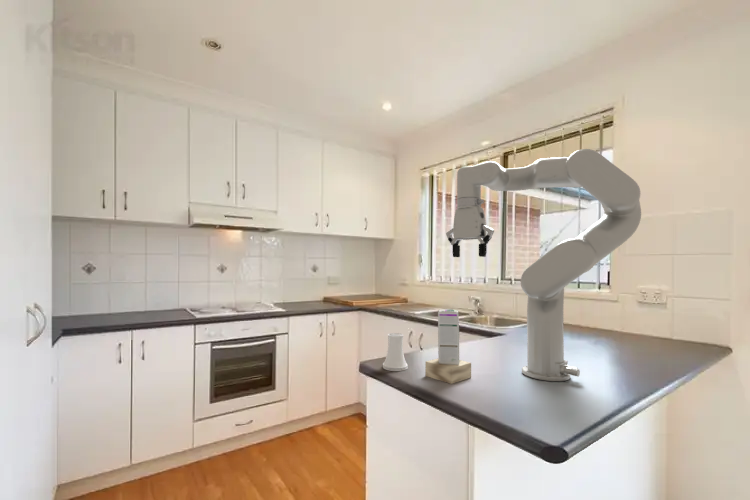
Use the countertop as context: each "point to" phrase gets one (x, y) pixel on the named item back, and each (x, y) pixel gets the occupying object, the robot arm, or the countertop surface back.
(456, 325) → the syrup box
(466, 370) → the beech block
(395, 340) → the white flared cylinder
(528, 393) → the countertop surface
